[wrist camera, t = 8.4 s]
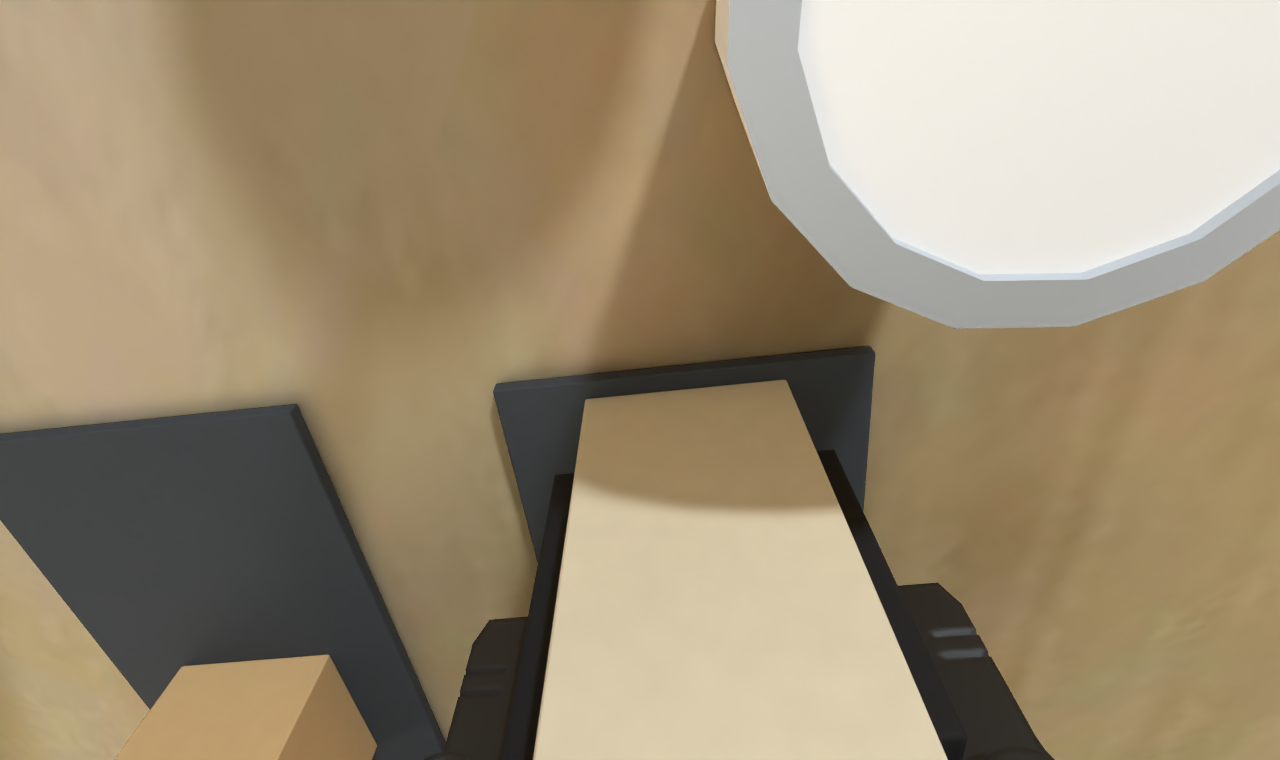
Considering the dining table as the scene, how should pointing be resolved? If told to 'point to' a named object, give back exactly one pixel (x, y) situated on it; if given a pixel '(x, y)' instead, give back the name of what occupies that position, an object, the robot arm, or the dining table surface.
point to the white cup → (1014, 145)
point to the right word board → (553, 408)
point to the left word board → (219, 586)
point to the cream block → (717, 595)
